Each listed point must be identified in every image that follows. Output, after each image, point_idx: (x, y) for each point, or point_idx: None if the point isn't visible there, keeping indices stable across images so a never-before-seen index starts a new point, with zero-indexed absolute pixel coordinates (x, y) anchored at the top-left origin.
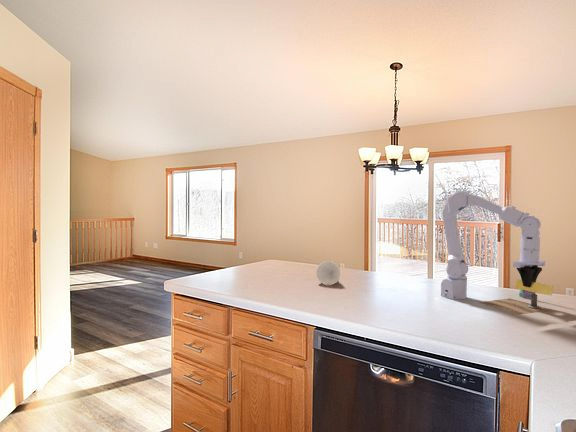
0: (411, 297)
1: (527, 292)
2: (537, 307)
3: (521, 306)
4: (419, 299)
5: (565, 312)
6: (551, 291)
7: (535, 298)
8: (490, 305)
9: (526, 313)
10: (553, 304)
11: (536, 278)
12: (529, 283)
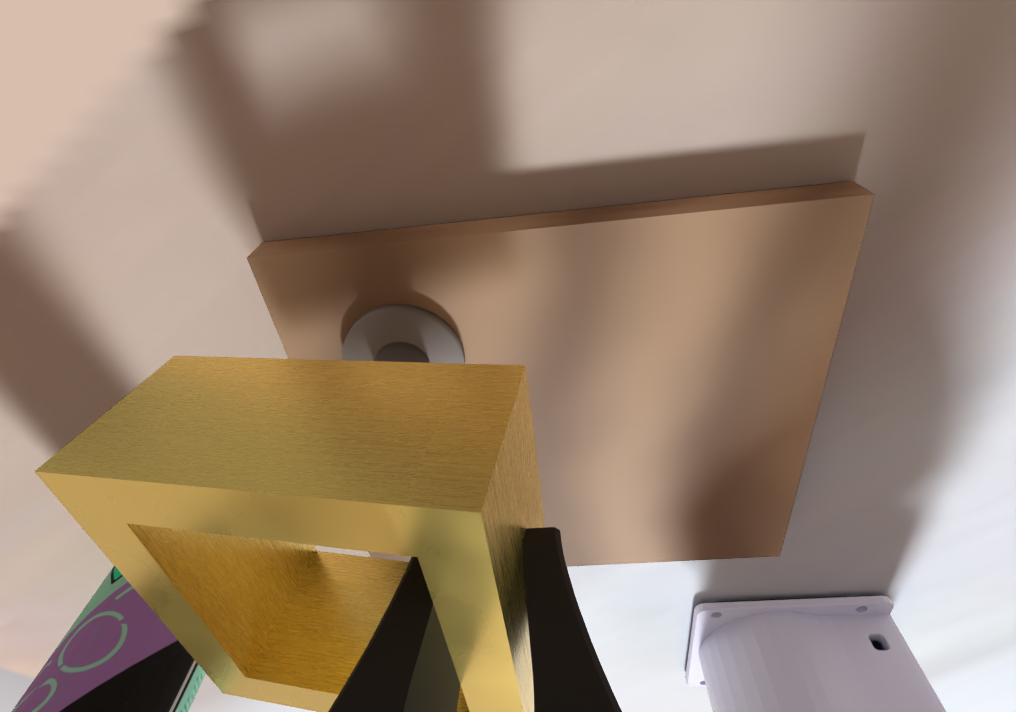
0: (1005, 703)
1: None
2: (406, 323)
3: None
4: (1012, 675)
5: (86, 224)
6: (149, 396)
7: None
8: (782, 479)
9: (726, 209)
10: (30, 436)
11: (358, 685)
12: (567, 585)
